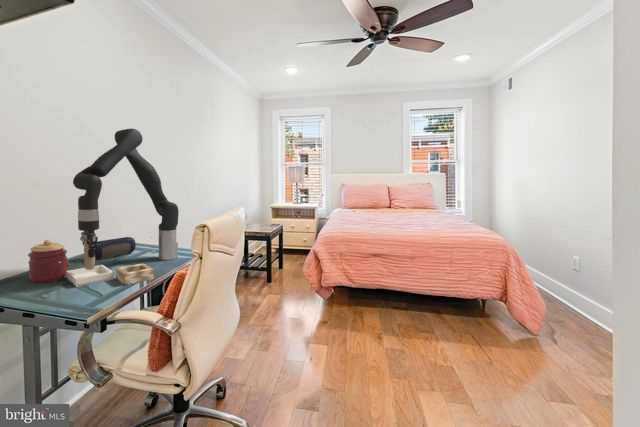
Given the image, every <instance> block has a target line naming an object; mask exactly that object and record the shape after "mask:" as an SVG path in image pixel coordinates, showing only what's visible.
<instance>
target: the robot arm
mask: <svg viewBox="0 0 640 427" xmlns="http://www.w3.org/2000/svg"><path fill="white" fill-rule="evenodd" d="M114 141H115V145H114V146H113V147H112V148H110V149H109V150H107V151H105V152H104V153H103V154H101V155H100V156H98V158H97V159H96V160H95V161H93V163H92V164H91V165H89V166H88V167H86V168H84V169H82V170H81V171H79V172H77V173H76V174H75V176H74V177H73V180H72V185H73V186H74V187H75V188H76V189H77V190H81V191H85V193H84V194H83V195H80V196H78V201H77V202H78V203H77V209H78V210H77V227H78V228H77V229H78V230H79V231H82V232H81V233H80V235H81V237H85V238H86V244H87V245H88V257H89V258H91V257H95V250H94V249H95V248H97V241H98V240H97V239H98V238H99V237H98V236H97V235H96V233H95V231H97V230H99V229H100V211H99V198H100V195H101V192H102V191H101V190H102V187H103V182H102V179H101V178H103V177H106V176H107V175H108V174H109V173H110V172H111V171H112V170H113V169H114V168H115V167H116V166H117V165H118V164H119V163H120V162H121V161H122V160H123V159H124V158H126V159H127V160H128V162H129V164H130V165H131V167H132V169H133V170H134V172H135V174H136V176H137V177H138V178H137V179H138V180H139V181H140V183H141V185H142V186H143V188H144V190H145V191H146V193H147V195H148V196H149V197H150V200H151V202H152V204H153V206H154V208H155V211H156V213H157V214H158V215H159V216H161V222H160V223H159V224H158V259H159V260H161V261H171V260H174V259H177V258H178V257H179V255H178V254H179V253H178V251H179V242H178V241H177V228H178V224H179V211H180V210H179V207H178V205H177V204H176V203H175V202H173V201H172V202H171V201H169V200H168V198H167V197H166V195H165V193H164V191H163V188H162V181H161V178H160V176H159V174H158V172H157V169H155V167H154V166H153V165H152V164H151V163H150V162H149V161H148V160H146V158H144V157H143V156H142V155H141V154H140V153H139V151H138V149H137V148H138V147H139V146H140V145H141V144H143V135H142V133H141V132H140V131H139V130H138V129H136V128H126V129H120V130H118V131H116V132H115V133H114ZM87 238H88V240H90V243H89V242H88V240H87ZM81 242H82V246H83V248H84V247H85V244H84V242H83V241H81ZM92 245H93V246H92Z"/></svg>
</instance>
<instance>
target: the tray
mask: <svg viewBox="0 0 640 427" xmlns="http://www.w3.org/2000/svg"><path fill="white" fill-rule="evenodd" d="M94 266H95V267H94V269H92V270H87V269H85V267H81V268H76V269H71V270H68V271H66V274H67V277H66V279H67V280H68V281H69V282H70V283H71V284H72V283H73V284H72V285H73V286H74V287H75V286H76V288H79V287H80V288H81V287H84V285H85V286H89V285H93V284H94V285H95V284H98V283H102V282H109V281H113V280H114V279H115V273H114V271H112V270H111V269H110V268H108V267H107V266H105V265H104V264H100V265H94ZM88 284H89V285H88Z"/></svg>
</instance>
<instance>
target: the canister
mask: <svg viewBox="0 0 640 427" xmlns="http://www.w3.org/2000/svg"><path fill="white" fill-rule="evenodd" d="M64 248H65V245H64V244H61V243H59V242H52V240H50V239H46V240H44V241H43V243H38V244H36V245H34V246H33V247H30V249H29V250H30V251H31V252H29V253H27V256H28V257H29V260H28V269H29V274H28V277H29V278H28V279H29V281H30V282H32V283H39V284H43V283H52V282H57V281H60V280H63V279H65V278H67V274H66V271H69V270H68V268H67V260H68V257H67V255H66V254H67V252H68V250H66V249H64Z"/></svg>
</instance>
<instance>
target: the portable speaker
mask: <svg viewBox="0 0 640 427" xmlns="http://www.w3.org/2000/svg"><path fill="white" fill-rule="evenodd" d="M136 244H137V243H136V240H135V238H133V237H131V236H130V237H129V236H125V237H118V238H111V239H104V240H97V248H95V249H94V250H95V261H99V260H103V259H108V258H113V257H118V256H122V255H129V254H131V253H133V252H134V251H135V250H136Z"/></svg>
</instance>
